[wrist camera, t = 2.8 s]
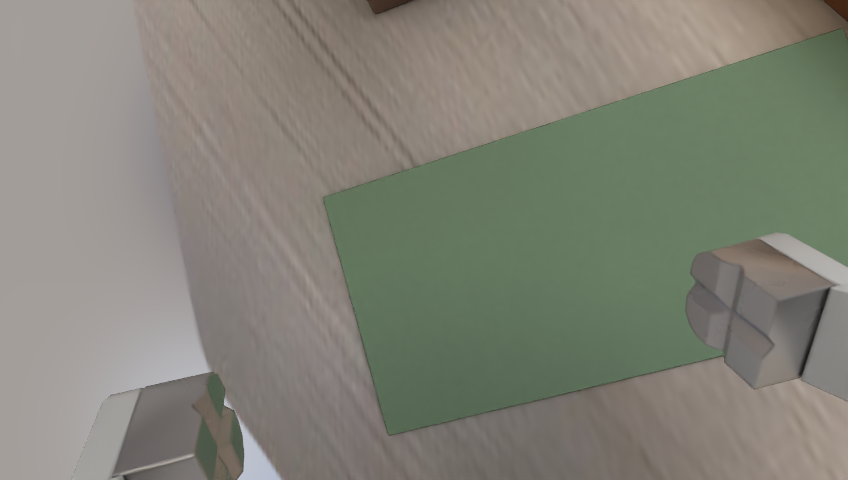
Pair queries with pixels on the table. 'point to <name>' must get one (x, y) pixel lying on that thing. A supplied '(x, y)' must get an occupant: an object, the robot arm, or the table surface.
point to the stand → (384, 4)
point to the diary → (839, 7)
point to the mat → (588, 234)
